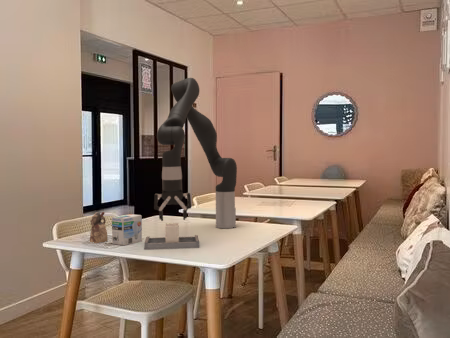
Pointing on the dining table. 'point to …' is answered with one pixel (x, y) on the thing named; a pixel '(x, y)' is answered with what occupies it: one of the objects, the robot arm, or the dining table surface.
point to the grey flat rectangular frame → (161, 243)
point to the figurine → (98, 228)
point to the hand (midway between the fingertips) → (173, 220)
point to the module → (171, 232)
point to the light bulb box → (126, 229)
